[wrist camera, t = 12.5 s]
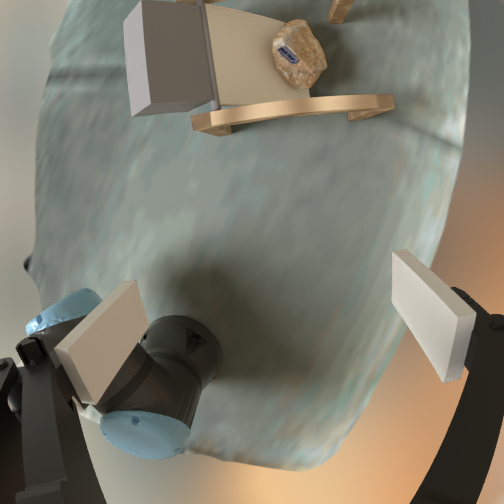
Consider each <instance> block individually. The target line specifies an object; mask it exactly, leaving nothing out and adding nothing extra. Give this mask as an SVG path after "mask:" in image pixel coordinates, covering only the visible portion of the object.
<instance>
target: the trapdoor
mask: <svg viewBox="0 0 504 504" xmlns="http://www.w3.org/2000/svg"><path fill="white" fill-rule="evenodd" d="M284 24H285V22H282V21H279V20H275V19H272V18H268V17H264V16H261V15H257V14H253V13H249V12H245V11H241V10H236V9H232V8H227V7H222V6H217V5H211V4H206V3H205V0H197V1H196V5H191V4H184V3H175V2H166V1H154V0H141V1H140V2H139V3H138V4H137V6H136V7H135V8H134V9H133V10H132V12H131V13H130V14H129V16H128V17H127V18H126V19H125V21H124V22H123V26H124V44H125V58H126V69H127V80H128V90H129V99H130V107H131V115H132V117H137V116H145V115H154V114H164V113H175V112H188V111H190V110H193V109H195V108H197V107H199V106H201V105H204V104H206V103H208V102H210V104H211V111H218V110H221V106H246V105H253V104H260V103H267V102H275V101H283V100H292V99H302V98H310V94H309V89H304V88H297V89H296V88H295V87H294V86H292V85H291V84H289V82H287V81H286V80H284V79H283V77H282V76H281V74H280V73H279V71H278V70H277V69H276V62H275V58H274V55H273V51H272V47H273V43H272V42H273V39H274V38H275V36H276V32H278V31H280V30H281V29H283V28H284Z"/></svg>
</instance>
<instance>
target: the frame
mask: <svg viewBox="0 0 504 504" xmlns="http://www.w3.org/2000/svg"><path fill="white" fill-rule="evenodd" d="M196 1H197V0H176V2H177V3H184V4H191V5H196ZM219 1H225V0H205V3H206V4H210V3H214V2H219ZM353 2H354V0H333V2H332V5H331V8H330V10H329V13H328V16H327V17H328V20H329V24H342V23H343V21H344V19H345V17H346V15H347V13H348V11H349V9H350V8H351V6H352V4H353ZM394 108H395V103H394V97H393V94H375V95H343V96H326V97H313V98H302V99H292V100H283V101H275V102H267V103H260V104H253V105H246V106H240V107H234V108H228V109H223V110H218V111H212V112H207V113H202V114H198V115H193V116H191V119H192V126H193V130H196V131H200V132H204V133H208V134H211V135H215V136H224V135H229V134H232V132H231V125H236V124H242V123H248V122H255V121H262V120H269V119H277V118H285V117H294V116H304V115H315V114H327V113H341V112H347V115H348V121H355V120H363V119H366V118H369V117H371V116H374V115H377V114H380V113H383V112H385V111H388V110H391V109H394Z"/></svg>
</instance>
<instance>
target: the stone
mask: <svg viewBox="0 0 504 504" xmlns="http://www.w3.org/2000/svg"><path fill="white" fill-rule="evenodd" d="M272 43H273V47H272V51H273V55H274V58H275V62H276V69H277V70H278V71H279V73H280V74H281V76H282V77H283V79H284V80H286V81H287V82H289V84H291V85H292V86H294V87H295V88H296V89H297V88H304V89H309V88H311V87H312V86H313V85H314V83H315V82H316V80H317V79H318V78H319V76H320V74H321V73H323V71H324V70H326V69H327V62H326V58H325V54H324V51H323V49H322V47H321V45H320V44H319V41H318V40H317V39H315V37H314V36H313V34H312V32H311V29H310V27H309V26H308V23H307V21H305V20H300V19H296V20H291V21H289V22H287V23H285V24H284V28H283V29H281V30H280V31H278V32H276V36H275V38H274V39H273V42H272Z"/></svg>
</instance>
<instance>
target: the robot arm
mask: <svg viewBox="0 0 504 504" xmlns="http://www.w3.org/2000/svg"><path fill="white" fill-rule="evenodd" d="M391 302H392V303H393V305H394V306H395V308H396V309H397V311H398V312H399V314H400V315H401V317H402V318H403V320H404V321H405V323H406V324H407V326H408V327H409V329H410V330H411V332H412V333H413V335H414V337H415V338H416V340H417V341H418V343H419V344H420V346H421V347H422V349H423V351H424V352H425V354H426V356H427V357H428V359H429V361H430V362H431V364H432V365H433V367H434V369H435V370H436V372H437V373H438V375H439V377H440V379H441V381H442V382H443V383H447V382H451V381H454V380H457V379H460V378H461V375H462V372H463V369H464V365H465V367H466V368H467V370H468V371H469V374H468V377H467V380H466V383H465V386H464V389H463V392H462V395H461V398H460V400H459V404H458V406H457V409H456V412H455V414H454V416H453V419H452V421H451V424H450V426H449V428H448V431H447V433H446V435H445V438H444V440H443V442H442V444H441V446H440V449H439V451H438V453H437V455H436V457H435V459H434V461H433V463H432V465H431V467H430V469H429V471H428V473H427V475H426V476H425V478H424V480H423V482H422V484H421V485H420V487H419V489H418V491H417V492H416V494H415V496H414V497H413V499H412V501H411V502H410V504H476V503H477V500H478V498H479V495H480V493H481V490H482V487H483V484H484V482H485V479H486V476H487V474H488V471H489V468H490V465H491V461H492V458H493V455H494V452H495V448H496V444H497V441H498V437H499V433H500V429H501V425H502V421H503V416H504V315H501V314H491V315H490V314H489V313H487V312H486V311H485V310H484V309H483V308H482V307H481V306H480V305H479V304H478V303H477V302H476V303H475V301H474V300H473V299H472V298H470V296H469V295H468V294H467V293H466V292H464V291H463V290H460V289H458V288H456V287H449V286H447V285H446V284H445V283H444V282H443V281H442V280H441V279H440V278H439V277H437V276H436V275H435V274H434V273H433V272H432V271H431V270H430V269H428V268H427V267H426V266H425V265H424V264H423V263H422V262H420V261H419V260H418V259H417V258H416V257H414V256H413V255H412V254H411V253H410V252H409V251H407V250H399V251H392V299H391ZM26 331H27V335H28V336H30V337H27V338H25V339H23V340H22V341H20V342H19V343H18V344H17V346H16V350H17V352H18V354H19V356H20V358H21V362H20V363H19V364H18V365H17V366H16V365H15V363H14V361H13V359H12V358H10V357H9V358H4V359H3V358H2V359H0V504H107V503H106V500H105V498H104V495H103V493H102V490H101V487H100V485H99V482H98V479H97V476H96V474H95V471H94V468H93V465H92V462H91V459H90V455H89V452H88V449H87V446H86V442H85V438H84V435H83V431H82V428H81V424H80V420H79V416H78V412H83V411H84V410H85V409H86V408H87V407H88V405H89V404H91V405H92V406H93V407H94V408H95V409H96V410H97V411H98V412H99V413H100V414H101V415H102V416H103V417H102V418H101V420H100V429H101V431H102V434H103V436H104V437H105V438H106V439H107V440H108V441H109V442H110V443H111V444H113V445H114V446H116V447H117V448H119V449H121V450H122V451H124V452H126V453H129V454H131V455H134V456H137V457H141V458H145V459H153V460H163V459H169V458H172V457H174V456H176V455H177V454H179V453H180V452H181V451H182V449H183V447H184V444H185V442H186V440H187V438H188V436H189V435H190V429H191V425H192V422H193V419H194V415H195V412H196V408H197V405H198V401H199V398H200V395H201V392H202V390H203V389H204V388H205V387H206V386H207V385H208V383H209V382H211V381H212V380H213V379H214V377H215V376H216V374H217V372H218V370H219V367H220V363H221V349H220V346H219V344H218V342H217V340H216V338H215V337H214V336H213V334H212V333H211V332H210V331H209V330H208V329H206V328H205V327H204V326H203V325H201V324H199V323H198V322H196V321H194V320H191V319H188V318H185V317H180V316H166V317H162V318H159V319H157V320H155V321H154V322H152V323H151V324H150V325H149V322H148V319H147V316H146V313H145V309H144V306H143V303H142V300H141V296H140V293H139V289H138V286H137V282H136V280H133V281H124V282H123V283H122V284H120V285H119V286H118V287H117V288H116V289H115V290H114V291H113V292H112V293H111V294H110V295H109V296H107V297H106V298H105V299H104V300H102V299H101V298H100V296H99V295H98V294H97V293H96V292H95V291H94V290H92V289H88V288H84V289H80V290H78V291H76V292H74V293H72V294H70V295H68V296H66V297H65V298H63V299H61V300H60V301H58V302H56V303H55V304H53V305H52V306H50V307H49V308H47V309H46V310H44V311H43V312H42V313H41V314H39V315H38V316H37V317H35V318H34V319H33V320H31V321H30V322H29V323H28V324H27V325H26ZM141 337H142V338H141ZM140 338H141V341H140V344H139V342H138V341H139V340H140Z"/></svg>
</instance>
